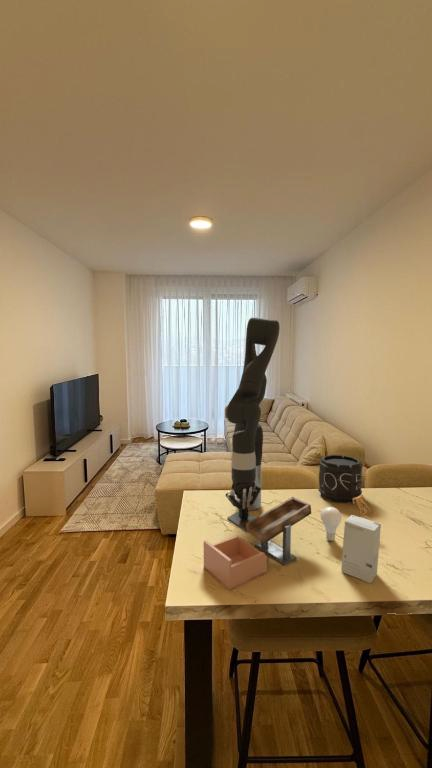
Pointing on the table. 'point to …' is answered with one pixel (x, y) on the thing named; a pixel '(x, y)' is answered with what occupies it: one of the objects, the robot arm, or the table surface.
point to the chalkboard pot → (340, 478)
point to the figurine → (361, 506)
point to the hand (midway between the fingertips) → (243, 519)
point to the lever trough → (273, 519)
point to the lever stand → (279, 548)
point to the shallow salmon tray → (234, 561)
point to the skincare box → (361, 548)
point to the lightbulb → (330, 521)
